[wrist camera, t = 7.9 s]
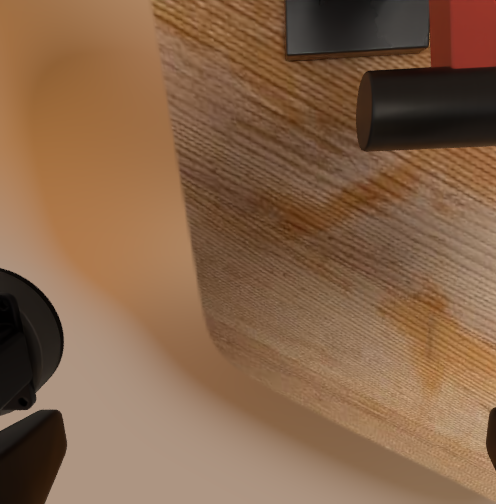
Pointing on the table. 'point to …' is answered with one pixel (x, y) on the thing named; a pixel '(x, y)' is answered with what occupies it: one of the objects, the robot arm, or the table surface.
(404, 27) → the bracket
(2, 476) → the robot arm
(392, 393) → the table surface
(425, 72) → the lever
